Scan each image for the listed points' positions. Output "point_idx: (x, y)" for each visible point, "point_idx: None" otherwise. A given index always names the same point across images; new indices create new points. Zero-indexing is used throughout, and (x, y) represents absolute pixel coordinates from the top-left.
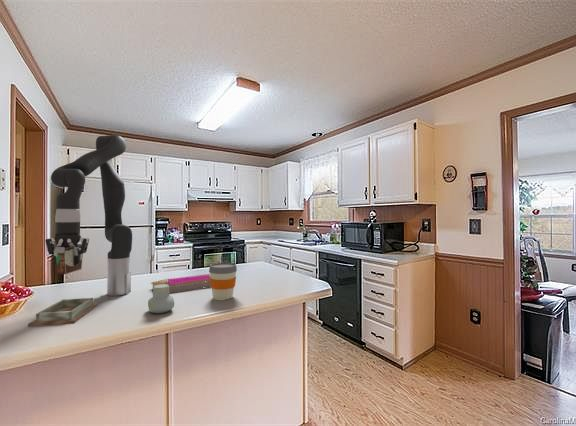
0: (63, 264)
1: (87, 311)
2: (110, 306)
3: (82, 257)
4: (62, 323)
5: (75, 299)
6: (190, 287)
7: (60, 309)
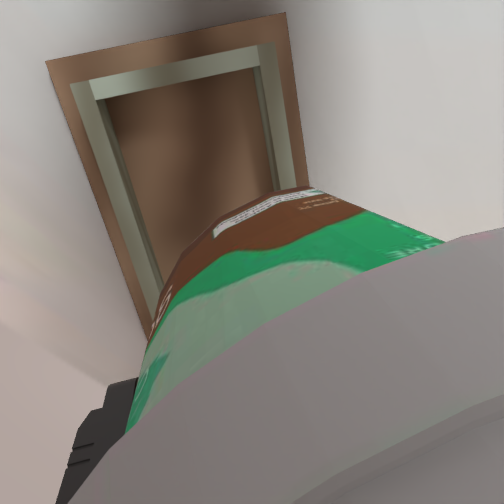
0: None
1: (308, 181)
2: (371, 51)
3: (382, 218)
4: None
5: (169, 84)
6: None
7: (129, 155)
